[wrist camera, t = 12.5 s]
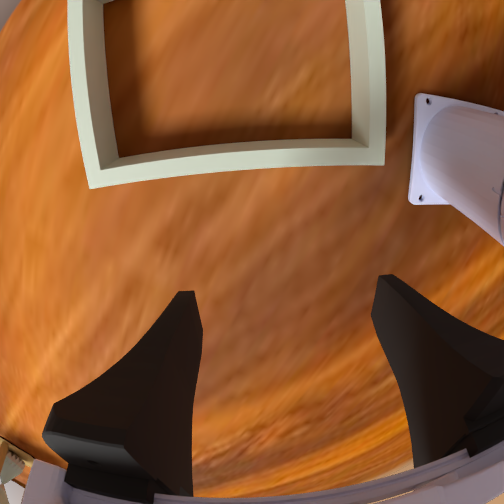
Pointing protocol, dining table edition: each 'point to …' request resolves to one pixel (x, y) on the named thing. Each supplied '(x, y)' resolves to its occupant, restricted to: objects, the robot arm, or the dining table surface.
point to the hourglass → (11, 465)
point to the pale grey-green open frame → (230, 154)
